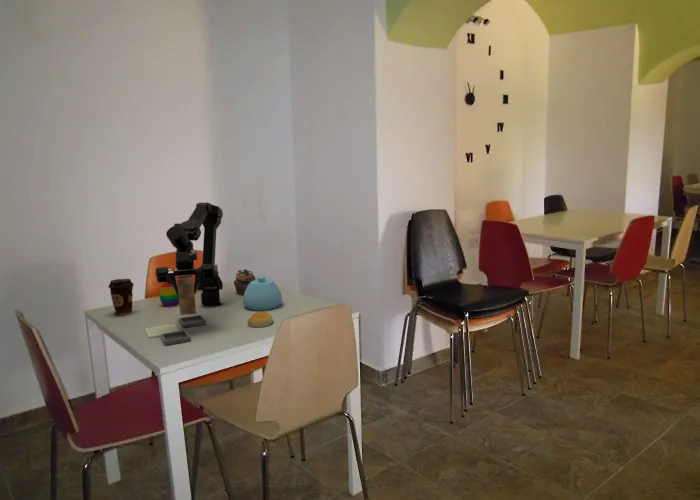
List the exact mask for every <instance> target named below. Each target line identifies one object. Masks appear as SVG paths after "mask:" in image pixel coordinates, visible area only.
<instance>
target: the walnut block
mask: <svg viewBox="0 0 700 500" xmlns="http://www.w3.org/2000/svg"><path fill="white" fill-rule="evenodd" d="M193 276H194V275H186V276H176V283H177V285H178V295H179V303H178V304H179V313H180V316H186V315H195V314H197V308H196V307H197V306H196V297H195V296H196V294H194V277H193Z"/></svg>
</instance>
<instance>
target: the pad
mask: <svg viewBox="0 0 700 500" xmlns="http://www.w3.org/2000/svg"><path fill="white" fill-rule="evenodd" d="M176 331H180V330H179V328H178V327H177V325H176V324H175V323H171V324H165V325H159V326H152V327H147V328H144V332H145V334H146V335H147V338H148V339H153V338H159V337H160V338H161V334H164V333H170V332H176Z"/></svg>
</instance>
